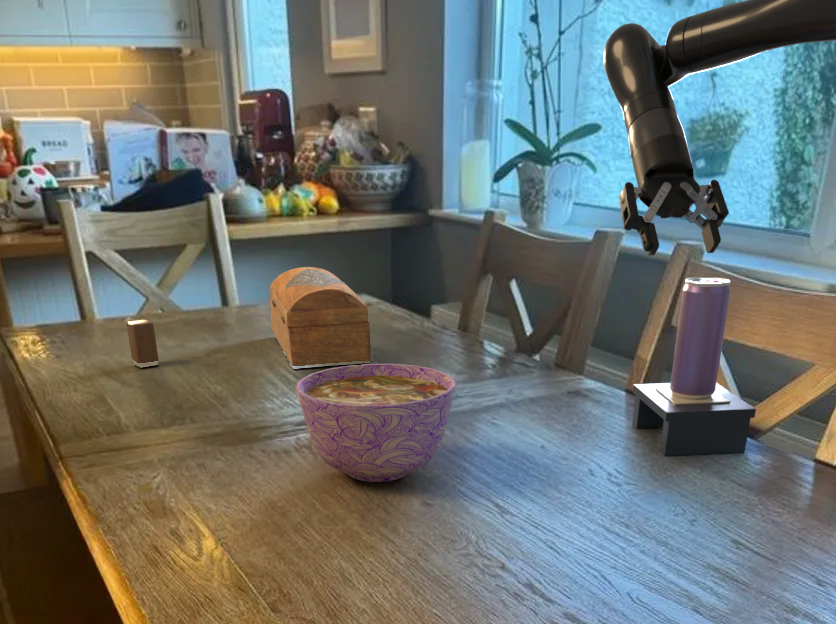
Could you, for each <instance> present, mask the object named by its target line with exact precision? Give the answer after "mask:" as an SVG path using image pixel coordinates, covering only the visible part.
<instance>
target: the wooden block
mask: <svg viewBox="0 0 836 624" xmlns="http://www.w3.org/2000/svg"><path fill="white" fill-rule="evenodd" d="M126 329H127V335H128V342H129V348H130V355H131V360H132V359H133V360H134V361H136V362H137V363H146V362H147V363H148V362H154V361H159V353H158V346H157V339H156V331H155V324H154V322H152V321H149V320H147V319H140V320H132V321H127V322H126ZM159 362H160V361H159Z"/></svg>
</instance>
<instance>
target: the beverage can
mask: <svg viewBox="0 0 836 624" xmlns="http://www.w3.org/2000/svg"><path fill="white" fill-rule="evenodd" d="M684 282H685V283H684V285H683V287H682V293H681V300H680V306H679V307H680V308H679V314H678V315H679V316H678V323H677V329H676V338H675V345H674V352H673V353H674V354H673V362H672V369H671V377H670V382H669V383H670V390H671V392H672V394H673V395H675V396H677V397H680V398H685V399H705V398H709V397H711V396H712V395H713V393H714V392H715V389H716V383H718V376H719V370H720V362H721V355H722V350H723V343H724V337H725V336H724V335H725V331H726V325H727V317H728V311H729V305H730V297H731V293H732V292H731V291H732V288H731V280H730V279H728V278H724V277H716V276H693V277H688V278H686V279H685V281H684Z"/></svg>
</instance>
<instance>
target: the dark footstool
mask: <svg viewBox="0 0 836 624" xmlns="http://www.w3.org/2000/svg"><path fill="white" fill-rule="evenodd" d="M670 383H671V382H661V383H659V382H658V383H657V382H656V383H633V385H632V393H633V394H634V395H635V397H634V405H633V414H632V423H631V424H632V426H633V427H634V428H635V429H637V430H638V429H639V430H640V429H658V428H657V427H663V428H662V431H661V440H660V447H659V452H660V453H661V454H662V455H663V456H664V457H672V456H695V455H696V456H697V455H699V456H700V455H721V454H742V453H745V452H746V447H747V441H748V437H749V430H750V423H751V419H754V418H755V417H756V412H757V409H756V408H755V407H754V406H752V405H751V404H750V403H747V402H746V401H745V400H743V399H742V398H740V397H739V396H738V395H736V394H734V393H733V392H731V391H730V390H728V389H727V388H726V387H724V386H722V385H721V384H719V383H718V382H717V383H716V389H715V392H714V393H713V395H712V396H711V397H709V398H705V399H685V398H680V397H677V396H675V395H673V394H672V392H671V390H670Z"/></svg>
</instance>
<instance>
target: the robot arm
mask: <svg viewBox="0 0 836 624" xmlns="http://www.w3.org/2000/svg"><path fill="white" fill-rule="evenodd" d="M823 42H836V0H743V1H738V2H734V3H730V4H725V5H721V6H719V7H716V8H712V9H710V10H706V11H703V12H699V13H696V14H693V15H690V16H687V17H684V18H682V19H679V20H678V21H676V22H675V23H674V24H673V25H672V26H671V27H670V28H669V30H668V32H667V35H666V40H665V44H659V42H658V41H657V40H656V39H655V38H654V37H653V36H652V34H651V33H650V32H649V30H647V29H646V28H645V27H644V26H643V25H641V24H639V23H635V22H634V23H633V22H629V23H625V24H621V25H620V26H618V27H616V28H615V29H614V30H613V31H612V33H611V34H610V36H609V37H608V39H607V40H606V43H605V46H604V49H603V55H602V63H603V68H604V72H605V75H606V78H607V80H608V83H609V85H610V87H611V90H612V92H613V94H614V96H615V98H616V101H617V103H618V104H619V106H620V109H621V111H622V117H623V122H624V125H625V130H626V133H627V138H628V150H629V155H630V158H631V163H632V167H633V171H634V175H635V179H636V184H637V186H634V183H632V182H630V181H627V182H626V183H624V186H623V187H622V190H621V191H620V194H619V195H618V199H619V205H620V206H619V207H620V212H621V219H622V224H623V228H624V230H625V231H628V232H629V231H631V230H635V231H636V232H637V233H638V234H639V236H640V240H641V245H642V248H643V250H644V252H647V255H648V256H655V255H656V253H657V252H658V250H659V249H660V242H659V236H658V233H657V229H656V225H655V222H653V221H654V218H655V217H656V216H657V217H660V219H667V218H676V219H679V218H680V219H681V218H684V219H685V220H686V221H687V222H688V223H690V224H695V225H696V226H697V227H699V228H700V229H701V236H702V240H703V243H704V247H705V251H706V253H707V254H713V253H714V252H715V251H716V250H717V248H718V246H719V245H720V243H721V242H722V241H721V240H722V238H721V235H720V230H719V228H720V227H721V226H722V224H723V223H724V221H725V219H726V218H727V217H728V215H729V213H730V211H729V209H728V205H727V202H726V199H725V196H724V194H723V191H722V188H721V185H720V183H719V181H718V180H717V179H712V180H711V181H710V182H709V183H708V184H699V183H698V182H697V181H696V179H695V174H694V171H695V170H694V165H693V161H692V158H691V154H690V149H689V145H688V142H687V138H686V135H685V131H684V127H683V124H682V123H681V121H680V118H679V116H678V112H677V108H676V104H675V101H674V97H673V94H672V92H671V89H670V87H671V86H673V85H674V84H677V83H678V82H679V81H681V80H683V79H684V78H686V77H688V76H689V75H694V74H698V73H701V72H706V71H709V70H713V69H717V68H721V67H724V66H727V65H731V64H734V63H737V62H741V61H744V60H746V59H749V58H752V57H754V56H757V55H760V54H763V53H765V52H768V51H772V50H776V49H780V48H784V47H789V46H795V45H800V44H809V43H823ZM638 199H639V200H640V202H641V203H643V204H644V205H645V206H646V207H647V208H648V209H647V210H646V211H645V214H643V215H644V216H643V215H639V210H638V203H637V201H638ZM693 205H694V206H695V208H694V210H693V211H692V210H691V209H692V207H693ZM704 217H705V218H704Z"/></svg>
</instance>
